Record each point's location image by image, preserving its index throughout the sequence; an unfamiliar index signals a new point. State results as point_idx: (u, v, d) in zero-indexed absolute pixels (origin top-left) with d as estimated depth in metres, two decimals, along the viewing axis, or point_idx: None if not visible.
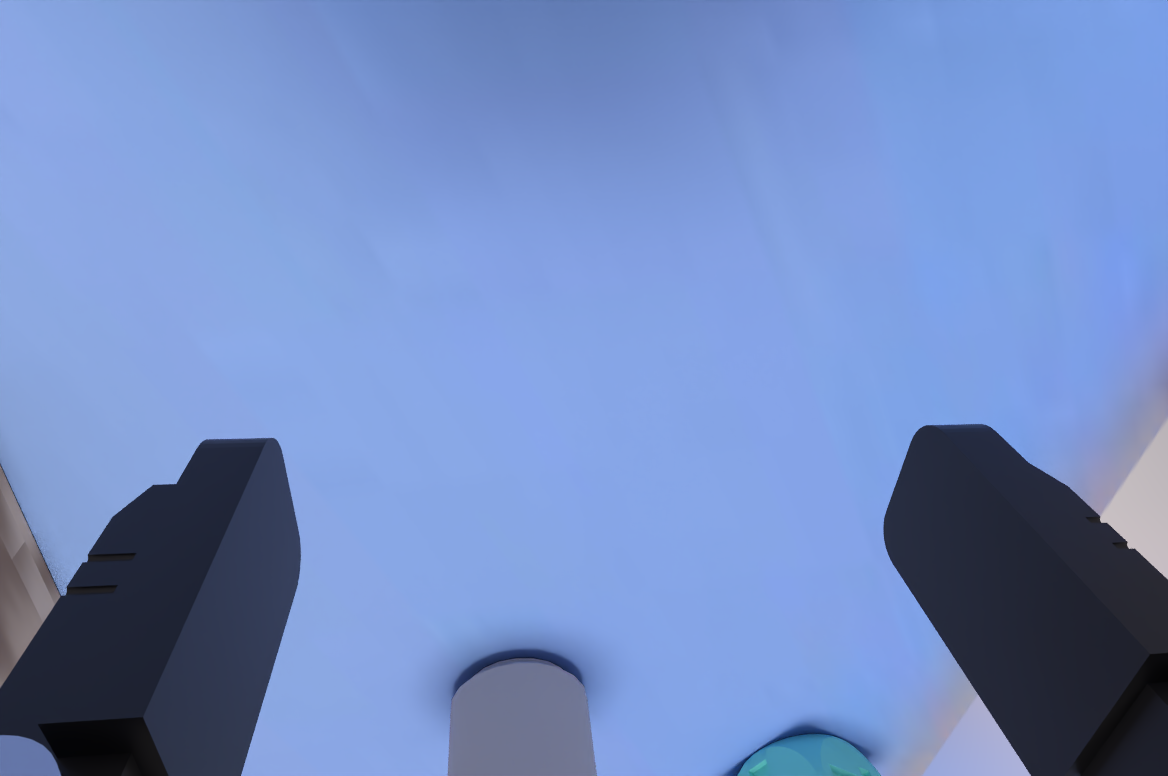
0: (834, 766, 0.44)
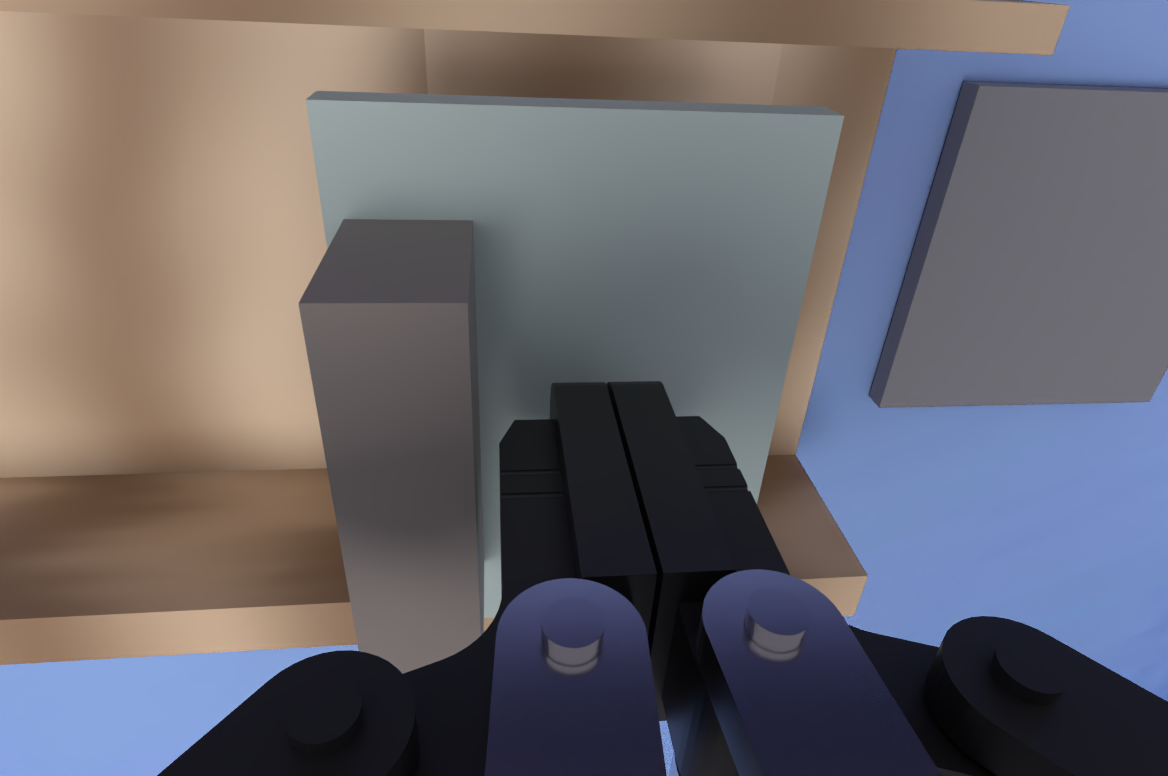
0: None
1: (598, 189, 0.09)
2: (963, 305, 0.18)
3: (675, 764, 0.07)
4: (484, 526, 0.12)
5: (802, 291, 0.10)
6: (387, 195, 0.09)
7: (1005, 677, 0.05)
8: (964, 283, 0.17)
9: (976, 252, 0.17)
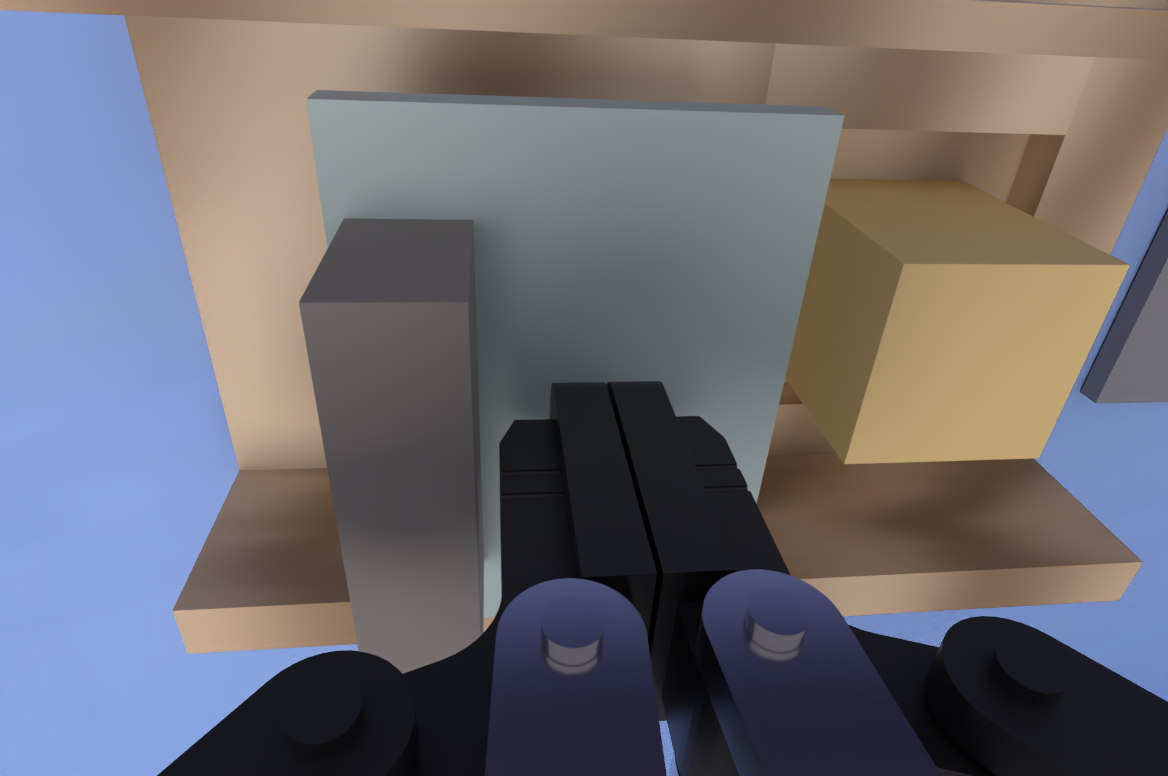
0: None
1: (598, 189, 0.09)
2: None
3: (675, 764, 0.07)
4: (484, 526, 0.12)
5: (802, 290, 0.10)
6: (387, 194, 0.09)
7: (1005, 677, 0.05)
8: None
9: None
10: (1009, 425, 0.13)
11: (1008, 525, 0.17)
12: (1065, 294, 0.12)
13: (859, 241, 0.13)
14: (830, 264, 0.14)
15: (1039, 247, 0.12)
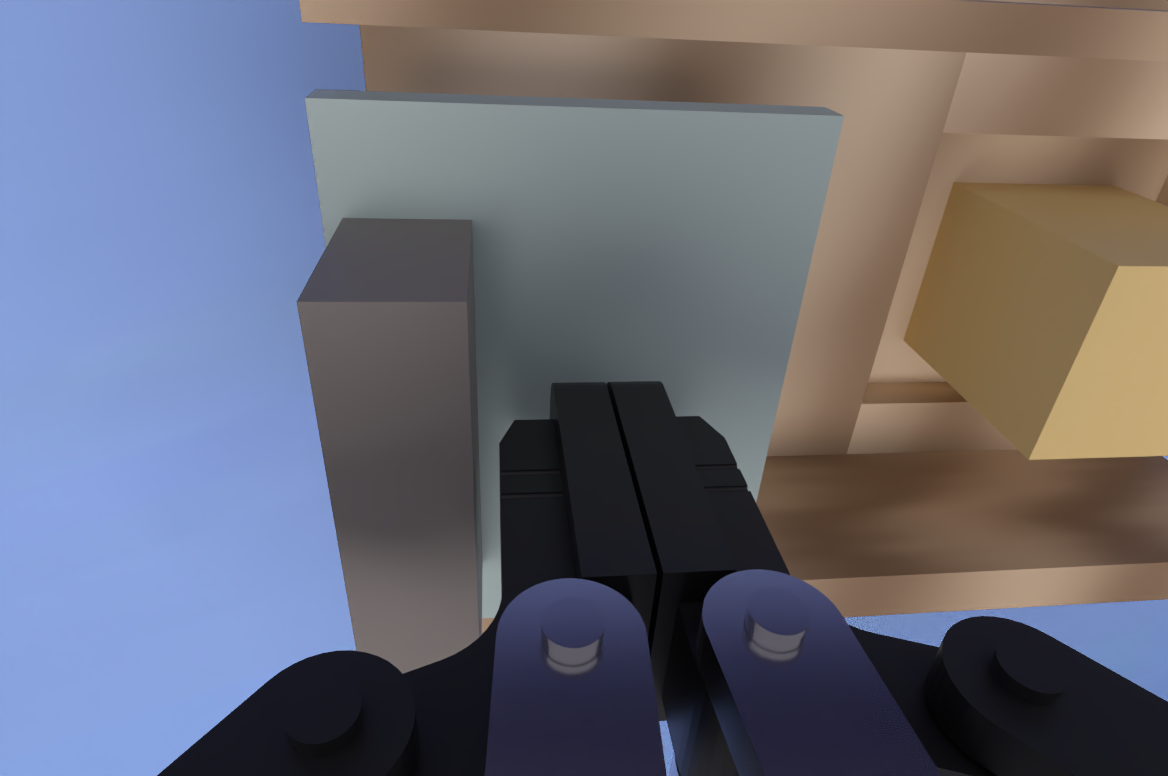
0: None
1: (598, 188, 0.09)
2: None
3: (675, 765, 0.07)
4: (482, 526, 0.12)
5: (801, 291, 0.10)
6: (386, 194, 0.09)
7: (1005, 677, 0.05)
8: None
9: None
10: None
11: (1155, 520, 0.17)
12: None
13: (1052, 244, 0.13)
14: (1010, 266, 0.14)
15: None
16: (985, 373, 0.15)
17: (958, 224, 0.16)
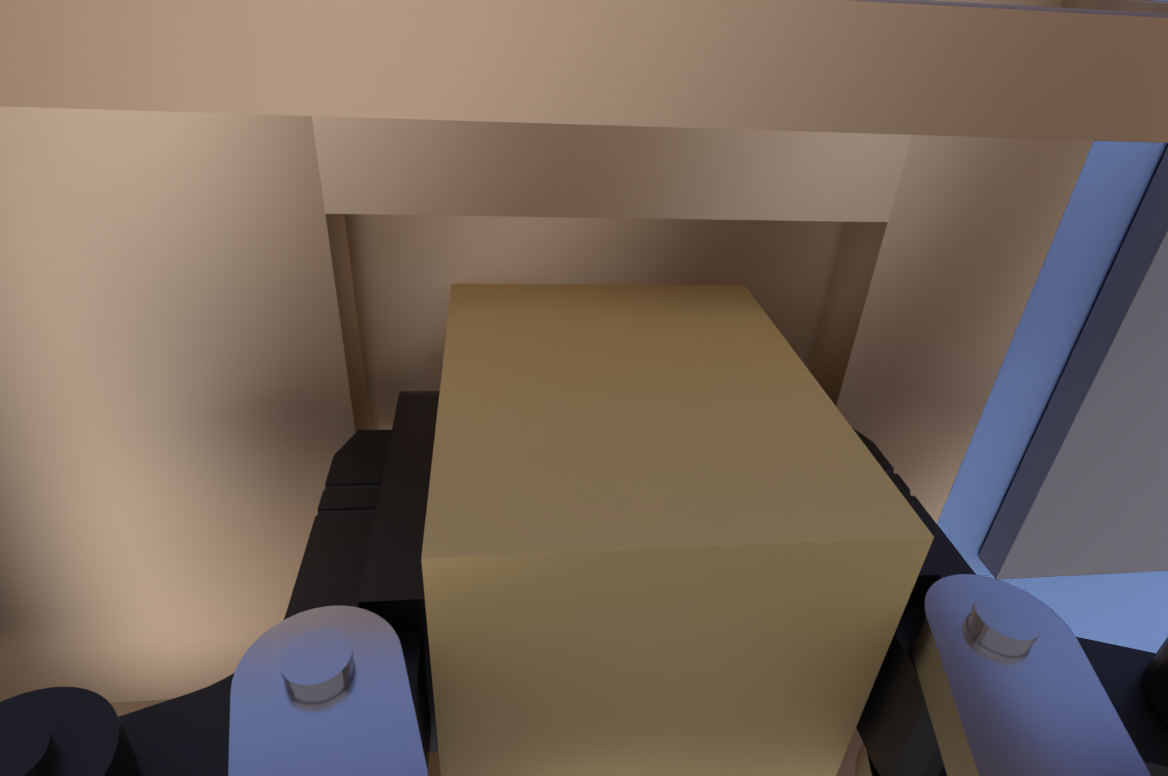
0: None
1: None
2: (1131, 451, 0.12)
3: (865, 747, 0.07)
4: None
5: None
6: None
7: None
8: (1136, 424, 0.12)
9: (1161, 383, 0.12)
10: None
11: None
12: (805, 589, 0.06)
13: (435, 453, 0.07)
14: None
15: (768, 480, 0.06)
16: None
17: None
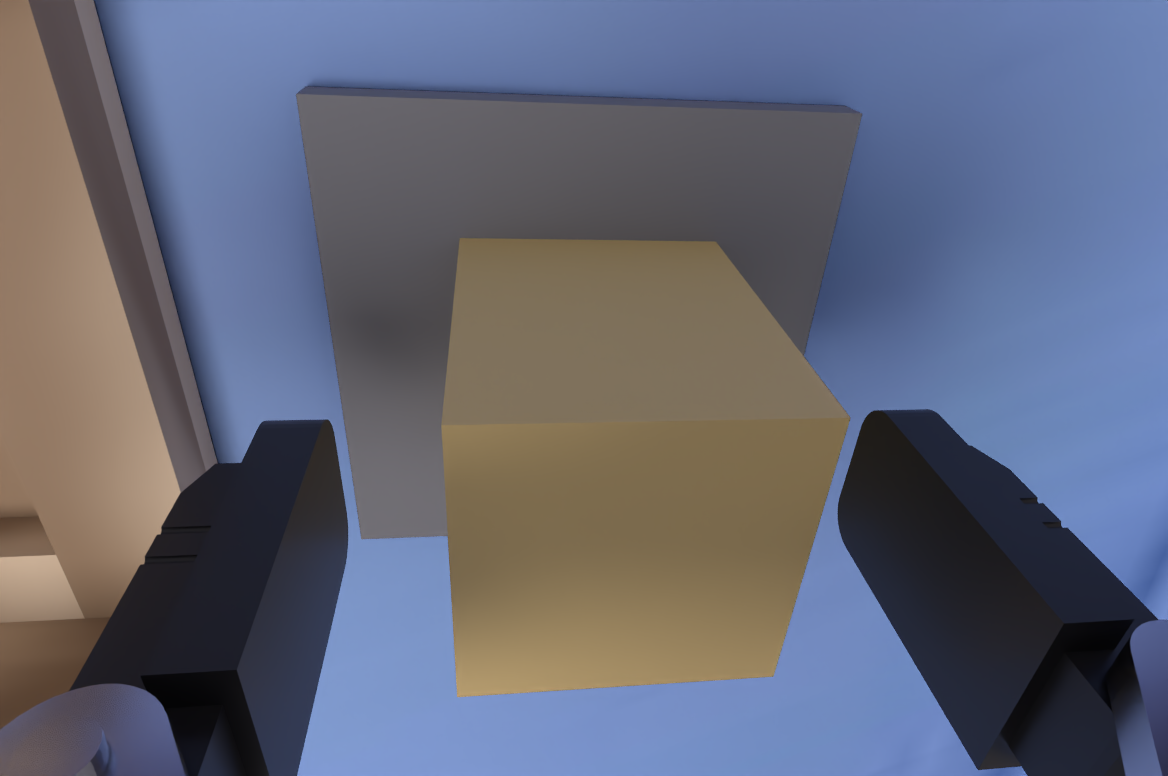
0: None
1: None
2: (425, 407, 0.12)
3: None
4: None
5: None
6: None
7: None
8: (413, 379, 0.12)
9: (410, 336, 0.12)
10: (711, 639, 0.09)
11: None
12: (748, 461, 0.07)
13: (449, 361, 0.08)
14: None
15: (722, 379, 0.08)
16: None
17: None
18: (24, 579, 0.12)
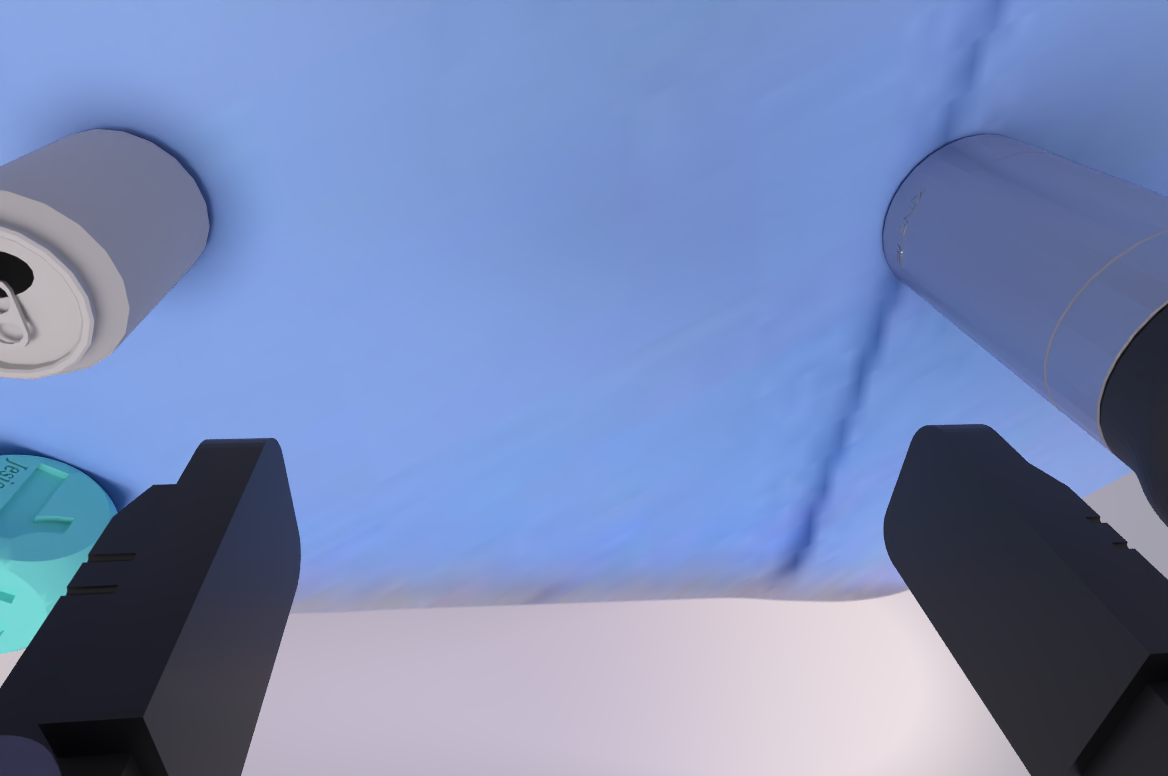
0: None
1: None
2: None
3: None
4: None
5: None
6: None
7: None
8: None
9: None
10: None
11: None
12: None
13: None
14: None
15: None
16: None
17: None
18: None
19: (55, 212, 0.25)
